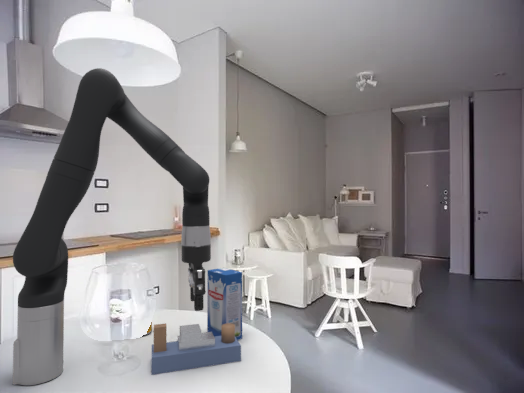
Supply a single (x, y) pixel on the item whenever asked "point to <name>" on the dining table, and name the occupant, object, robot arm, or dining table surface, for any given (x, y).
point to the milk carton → (224, 300)
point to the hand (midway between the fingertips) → (196, 305)
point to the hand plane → (193, 351)
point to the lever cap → (194, 338)
